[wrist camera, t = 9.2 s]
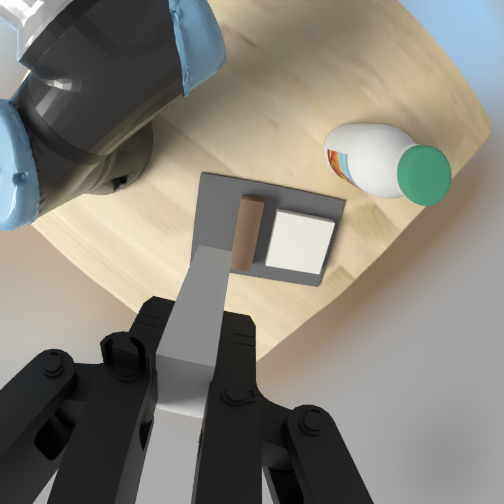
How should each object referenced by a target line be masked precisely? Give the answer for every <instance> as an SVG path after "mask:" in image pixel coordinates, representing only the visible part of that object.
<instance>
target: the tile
mask: <svg viewBox="0 0 504 504" xmlns="http://www.w3.org/2000/svg"><path fill="white" fill-rule="evenodd" d="M334 225H335V223H334V221H333V220H331V219H327V218H322V217H317V216H313V215H308V214H303V213H298V212H293V211H288V210H283V209H278V208H277V211H276V215H275V220H274V224H273V229H272V233H271V238H270V242H269V247H268V251H267V255H266V260H265V263H266V266H272V267H277V268H283V269H289V270H295V271H302V272H308V273H314V274H320V271H321V267H322V264H323V261H324V258H325V255H326V252H327V248H328V245H329V242H330V238H331V235H332V232H333V228H334Z"/></svg>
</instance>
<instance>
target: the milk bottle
mask: <svg viewBox="0 0 504 504" xmlns="http://www.w3.org/2000/svg"><path fill="white" fill-rule="evenodd" d="M323 152H324V158H325V161H326V163H327V165H328V167H329V168H330V169H331V170H332V172H334V173H335V174H336V175H338V176H339V177H341V178H342V179H344V180H346V181H347V182H349V183H350V184H352V185H354V186H355V187H357V188H359V189H360V190H362V191H364V192H366V193H368V194H370V195H372V196H375V197H379V198H384V199H393V198H399V197H402V196H404V197H406V198H407V199H409V200H411V201H413V202H414V203H416V204H419V205H422V206H432V205H435V204H437V203H439V202H440V201H441V200H442V199H443V198H444V197H445V195H446V194H447V192H448V190H449V187H450V183H451V169H450V165H449V162H448V160H447V158H446V157H445V155H444V154H443V153H442V152H441V151H439V150H438V149H436V148H434V147H431V146H427V145H421V144H415V142H414V141H413V140H412V139H411V138H410V137H409V136H408V135H407V134H406V133H405V132H403V131H401V130H400V129H398V128H396V127H393V126H390V125H385V124H375V123H352V124H343V125H340V126H338V127H336V128H334V129H333V130H332V131H331V132H330V133H329V134H328V136H327V138H326V140H325V143H324V149H323Z"/></svg>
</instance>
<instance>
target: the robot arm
mask: <svg viewBox="0 0 504 504" xmlns="http://www.w3.org/2000/svg"><path fill="white" fill-rule="evenodd" d="M0 20H2V21H3V22H4V23H6V24H7V25H8V26H10V27H11V28H12V29H13V30H15V31H16V34H17V53H16V55H17V56H16V60H18V61H19V62H20V63H21V64H23V65H24V66H25V67H27V68H28V69H29V70H31V72H30V74H29V75H28V76H27V77H26V79H25V80H24V81H23V83H22V84H21V85H20V87H19V88H18V89H17V91H16V92H15V94H14V95H13V96H12V97H11V98H10V99H9V100H6V99H0V230H2V231H12V230H15V229H17V228H19V227H21V226H23V225H30V224H31V223H33V222H34V221H35V220H36V219H37V218H38V217H40V216H42V215H44V214H46V213H47V212H49V211H51V210H53V209H55V208H56V207H58V206H60V205H62V204H64V203H66V202H68V201H70V200H72V199H74V198H76V197H78V196H80V195H82V194H93V195H107V194H111V193H114V192H117V191H119V190H121V189H123V188H125V187H127V186H128V185H130V184H131V183H132V182H134V181H135V180H136V179H137V178H138V177H139V175H140V174H141V173H142V171H143V170H144V168H145V166H146V164H147V162H148V160H149V157H150V154H151V149H152V141H153V135H152V127H151V123H150V121H151V120H152V119H153V118H154V117H156V116H157V115H158V114H160V113H161V112H162V111H164V110H165V109H167V108H168V107H169V106H171V105H172V104H174V103H175V102H176V101H178V100H179V99H181V98H182V97H183V98H186V97H188V96H189V95H190V92H191V91H192V90H193V89H195V88H196V87H197V86H199V85H200V84H202V83H203V82H205V81H206V80H207V79H209V78H210V77H212V76H213V75H215V74H216V73H217V72H218V71H219V70H220V69H221V68H222V66H223V64H224V62H225V58H226V49H225V44H224V40H223V36H222V33H221V31H220V28H219V25H218V23H217V20H216V18H215V16H214V14H213V12H212V9H211V7H210V5H209V3H208V1H207V0H0ZM231 259H232V252H231V251H226V250H222V249H217V248H212V247H208V246H203V245H199V246H198V249H197V251H196V253H195V256H194V258H193V260H192V263H191V265H190V267H189V270H188V272H187V275H186V277H185V280H184V282H183V284H182V287H181V289H180V292H179V294H178V297H177V299H176V301H172V300H168V299H164V298H160V297H156V296H153V297H152V298H150V299H149V300H147V301H146V302H144V303H143V305H142V307H141V309H140V311H139V314H138V315H137V317H136V318H135V321H134V322H133V324H132V326H131V328H130V330H129V332H124V331H122V332H116V333H112V334H110V335H108V336H106V337H105V338H104V339H103V340H102V341H101V342H100V346H101V352H102V357H103V362H104V363H100V364H82V363H74V361H73V358H72V357H71V356H70V355H69V354H68V353H67V352H64V351H62V350H60V349H49V350H45V351H43V352H41V353H40V354H38V355H37V356H36V357H35V358H34V359H33V360H31V361H30V362H29V363H28V364H27V365H26V366H25V367H24V368H23V369H22V370H21V371H20V372H19V373H18V374H16V375H15V377H13V378H12V379H11V380H10V381H9V382H8V383H7V384H6V385H5V386H4V387H3V388H2V389H1V390H0V504H33V502H34V501H35V499H36V498H37V496H38V495H39V494H40V493H41V491H42V490H43V488H44V487H45V486H46V484H47V483H48V481H49V480H50V479H51V477H52V476H53V475H54V473H55V472H56V471H57V469H58V468H59V469H58V471H57V475H56V477H55V480H54V483H53V486H52V489H51V492H50V495H49V498H48V502H47V504H135V501H136V496H137V492H138V487H139V483H140V478H141V474H142V469H143V464H144V461H145V456H146V452H147V448H148V444H149V440H150V436H151V432H152V428H153V424H154V411H155V407H156V404H157V408H158V409H162V410H166V411H170V412H174V413H179V414H183V415H188V416H193V417H198V418H203V422H202V428H201V433H200V437H199V442H198V443H199V446H198V454H197V461H196V468H195V477H194V484H193V492H192V500H191V504H262V468H263V472H264V475H265V478H266V481H267V485H268V488H269V491H270V494H271V497H272V500H273V504H374V503H373V501H372V499H371V497H370V495H369V493H368V490H367V488H366V487H365V484H364V482H363V480H362V478H361V476H360V474H359V472H358V470H357V468H356V466H355V463H354V461H353V459H352V457H351V455H350V453H349V451H348V449H347V447H346V445H345V443H344V441H343V439H342V437H341V434H340V432H339V430H338V428H337V426H336V424H335V422H334V420H333V419H332V417H331V416H330V414H329V413H328V412H326V411H325V410H324V409H322V408H320V407H318V406H315V405H301V406H298V407H295V408H294V409H293V410H290V409H288V408H285V407H282V406H280V405H277V404H274V403H273V402H271V401H269V400H268V399H266V398H265V397H264V396H263V395H262V394H261V393H260V391H259V389H258V387H257V384H256V348H255V347H256V339H255V338H256V326H255V324H254V322H253V320H252V319H251V317H250V316H249V315H243V314H238V313H233V312H228V311H223V310H224V304H225V297H226V290H227V284H228V278H229V271H230V265H231Z"/></svg>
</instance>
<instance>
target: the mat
mask: <svg viewBox="0 0 504 504" xmlns="http://www.w3.org/2000/svg"><path fill="white" fill-rule="evenodd" d="M242 195H247V196H253V197H258V198H264V208H263V213H262V218H261V222H260V227H259V232H258V237H257V242H256V247H255V252H254V256H253V261H252V266H251V271H250V272H248V271H242V270H236V269H231V268H230V271H229V273H235V274H241V275H247V276H253V277H259V278H265V279H271V280H277V281H284V282H290V283H296V284H303V285H309V286H316V287H318V286H319V283H320V280H321V277H322V274H323V271H324V268H325V265H326V262H327V259H328V256H329V253H330V249H331V246H332V243H333V240H334V236H335V233H336V230H337V226H338V223H339V219H340V216H341V212H342V209H343V205H344V202H345V201H344V200H340V199H336V198H331V197H327V196H323V195H318V194H314V193H309V192H305V191H300V190H295V189H291V188H286V187H281V186H276V185H271V184H265V183H260V182H255V181H249V180H243V179H238V178H232V177H226V176H220V175H213V174H207V173H201V176H200V183H199V191H198V198H197V206H196V214H195V223H194V231H193V241H192V250H191V261H190V265H191V263H192V260H193V258H194V256H195V253H196V251H197V249H198V246H199V245H203V246H208V247H212V248H217V249H222V250H226V251H231V252H232V248H233V242H234V236H235V230H236V224H237V219H238V213H239V207H240V202H241V197H242ZM277 208H278V209H283V210H288V211H293V212H298V213H303V214H308V215H313V216H317V217H322V218H327V219H331V220H333V221H334V223H335V225H334V228H333V232H332V235H331V238H330V242H329V245H328V248H327V252H326V255H325V258H324V261H323V264H322V267H321V271H320V274H314V273H308V272H302V271H295V270H289V269H283V268H277V267H272V266H266V263H265V260H266V255H267V251H268V247H269V242H270V238H271V233H272V229H273V224H274V220H275V215H276V211H277Z"/></svg>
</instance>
